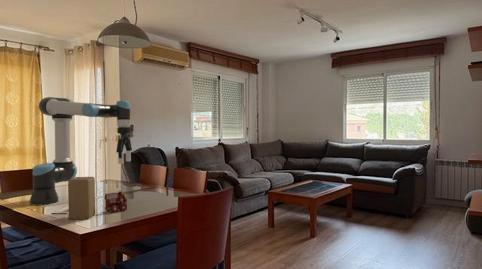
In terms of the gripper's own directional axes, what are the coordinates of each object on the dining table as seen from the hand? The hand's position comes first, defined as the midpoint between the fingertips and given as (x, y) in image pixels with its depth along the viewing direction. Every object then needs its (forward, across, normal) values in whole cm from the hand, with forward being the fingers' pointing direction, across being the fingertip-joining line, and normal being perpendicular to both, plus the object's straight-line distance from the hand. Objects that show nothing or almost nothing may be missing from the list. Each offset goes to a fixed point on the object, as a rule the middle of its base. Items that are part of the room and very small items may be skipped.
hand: (124, 162), depth 201 cm
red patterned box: (+25, -18, -1) cm, 31 cm away
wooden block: (+25, -30, +12) cm, 41 cm away
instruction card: (+24, -14, +25) cm, 38 cm away
